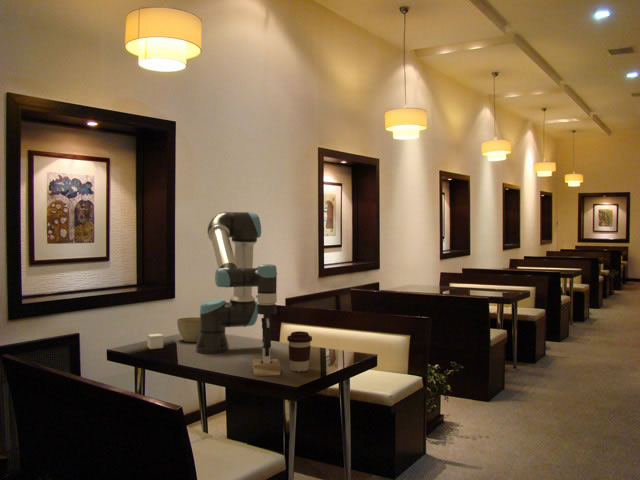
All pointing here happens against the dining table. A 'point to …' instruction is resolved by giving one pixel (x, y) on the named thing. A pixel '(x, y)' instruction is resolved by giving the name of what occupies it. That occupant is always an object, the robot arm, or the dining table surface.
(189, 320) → the planter bowl
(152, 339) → the cream cube
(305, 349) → the coffee cup
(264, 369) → the hole block
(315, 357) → the dining table surface
